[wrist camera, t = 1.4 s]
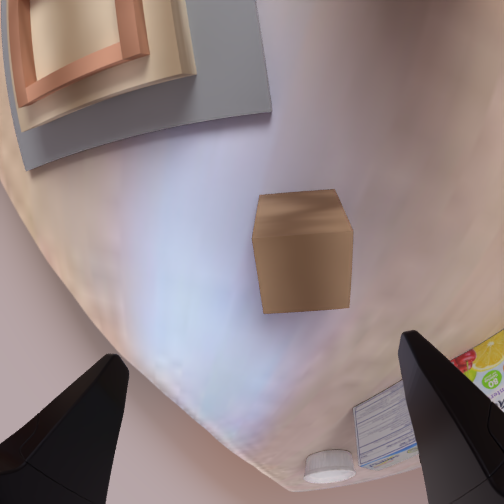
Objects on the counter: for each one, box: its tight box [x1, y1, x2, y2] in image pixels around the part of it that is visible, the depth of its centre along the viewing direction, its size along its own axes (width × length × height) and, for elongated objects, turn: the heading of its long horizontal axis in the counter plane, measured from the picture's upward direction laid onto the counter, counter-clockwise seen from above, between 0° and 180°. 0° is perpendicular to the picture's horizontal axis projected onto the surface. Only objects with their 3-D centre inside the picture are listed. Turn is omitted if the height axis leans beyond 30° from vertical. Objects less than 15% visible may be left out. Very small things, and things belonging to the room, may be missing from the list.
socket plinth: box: [6, 0, 197, 132], centre depth 12 cm, size 12×12×4 cm
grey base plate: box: [1, 0, 272, 171], centre depth 14 cm, size 20×18×1 cm
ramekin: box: [303, 450, 356, 483], centre depth 41 cm, size 9×9×4 cm
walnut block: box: [252, 189, 353, 314], centre depth 19 cm, size 5×5×6 cm
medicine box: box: [353, 380, 419, 470], centre depth 28 cm, size 8×4×9 cm, turn 141°
